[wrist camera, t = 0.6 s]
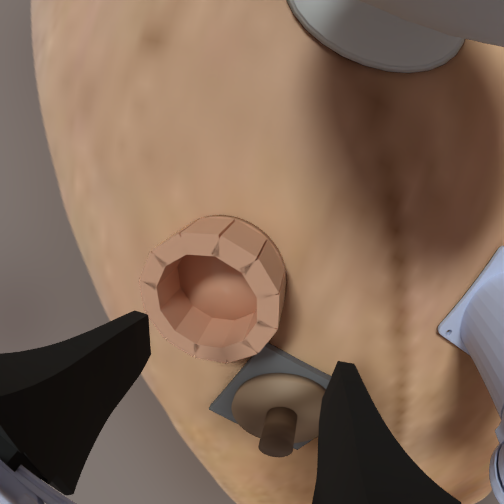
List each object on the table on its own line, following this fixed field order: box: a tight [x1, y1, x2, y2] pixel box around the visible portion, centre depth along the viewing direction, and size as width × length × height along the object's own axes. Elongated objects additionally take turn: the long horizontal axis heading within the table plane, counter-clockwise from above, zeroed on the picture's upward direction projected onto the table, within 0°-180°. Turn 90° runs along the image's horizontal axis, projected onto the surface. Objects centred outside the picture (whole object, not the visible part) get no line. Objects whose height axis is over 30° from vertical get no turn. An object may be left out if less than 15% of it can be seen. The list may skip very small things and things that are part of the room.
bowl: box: [139, 215, 286, 363], centre depth 19 cm, size 8×8×4 cm
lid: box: [232, 373, 326, 457], centre depth 21 cm, size 9×9×4 cm
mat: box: [209, 342, 331, 450], centre depth 24 cm, size 10×10×1 cm
